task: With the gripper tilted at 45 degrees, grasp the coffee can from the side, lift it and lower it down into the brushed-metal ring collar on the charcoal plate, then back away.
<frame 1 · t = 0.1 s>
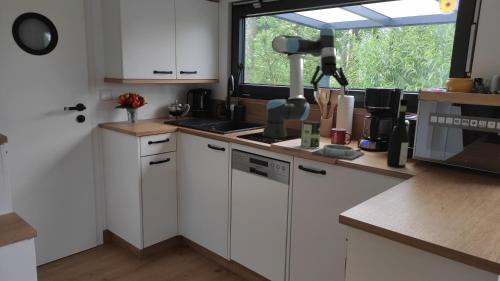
hand: (330, 98, 183), 28 cm above the worktop, tool tilted 20°, fingers open, 13 cm apart
wine bottle: (395, 166, 164), on the worktop
ring holder: (338, 154, 184), on the worktop
coffee can: (309, 147, 200), on the worktop
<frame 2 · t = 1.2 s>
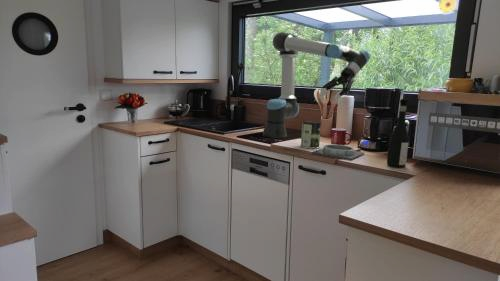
hand: (327, 98, 201), 27 cm above the worktop, tool tilted 45°, fingers open, 13 cm apart
nothing on the worktop moved.
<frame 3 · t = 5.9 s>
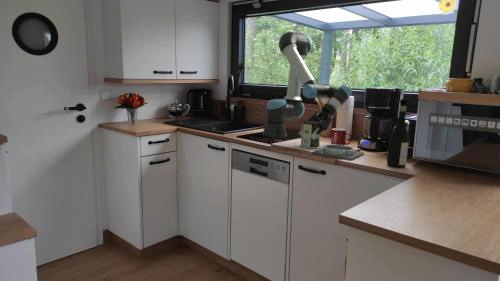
hand: (306, 136, 198), 6 cm above the worktop, tool tilted 45°, fingers closed on coffee can, 10 cm apart
coffee can: (309, 147, 200), on the worktop, touching gripper
everything else where it was.
when the fingers open (8 cm above the worktop, at t = 13.1 s): coffee can drops 1 cm, resting on ring holder.
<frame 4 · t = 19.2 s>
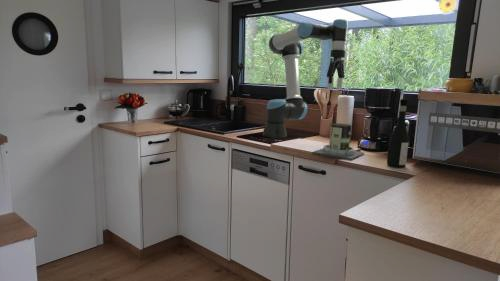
hand: (334, 89, 198), 32 cm above the worktop, tool pointing down, fingers open, 13 cm apart
coffee can: (338, 152, 184), point 1 cm above the worktop, touching ring holder
everything else where it was.
at the end: coffee can 0.2 cm from the ring holder (horizontally); coffee can tilted 0°; coffee can point 0.8 cm above the worktop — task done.
